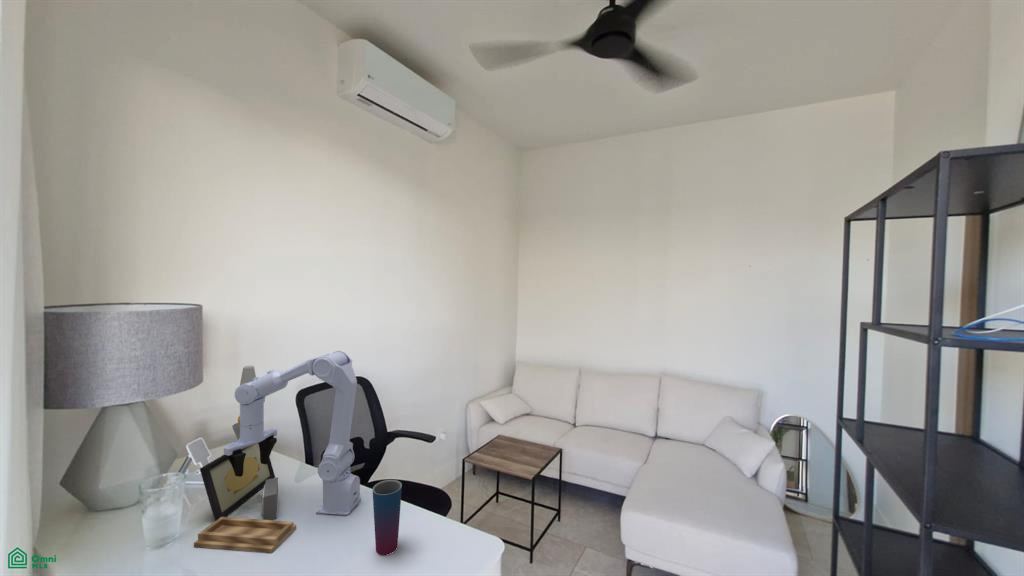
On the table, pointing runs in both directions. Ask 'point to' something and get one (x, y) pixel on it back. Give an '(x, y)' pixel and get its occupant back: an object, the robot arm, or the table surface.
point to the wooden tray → (245, 534)
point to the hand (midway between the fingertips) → (252, 469)
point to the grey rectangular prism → (270, 499)
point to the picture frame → (234, 481)
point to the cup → (386, 515)
